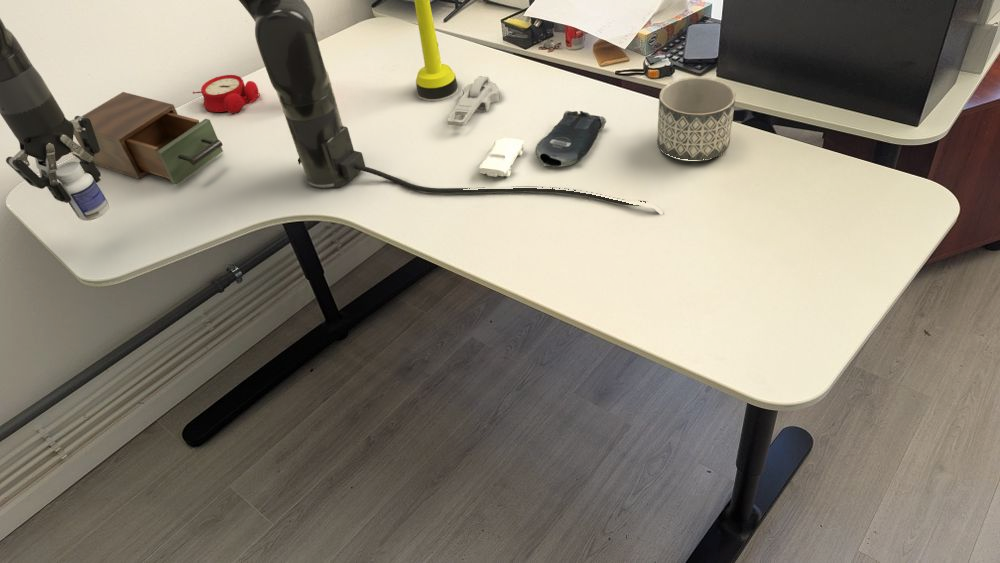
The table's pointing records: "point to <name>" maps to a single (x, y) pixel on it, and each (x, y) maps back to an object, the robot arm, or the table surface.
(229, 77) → the alarm clock
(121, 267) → the table surface
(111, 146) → the cabinet
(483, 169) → the toy car
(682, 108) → the planter
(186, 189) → the table surface
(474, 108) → the zipper pull
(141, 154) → the drawer
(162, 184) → the table surface
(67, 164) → the pill bottle
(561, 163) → the electronic device
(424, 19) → the flashlight
